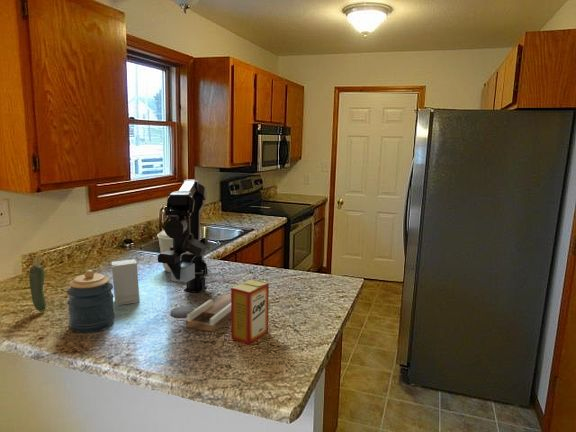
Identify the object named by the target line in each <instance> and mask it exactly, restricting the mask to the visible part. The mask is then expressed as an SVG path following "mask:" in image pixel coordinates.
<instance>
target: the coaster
mask: <svg viewBox="0 0 576 432" xmlns="http://www.w3.org/2000/svg"><path fill="white" fill-rule="evenodd" d="M195 309H196V308H194V307H192V306H178V307H174V308H173V309H171V310H170V316H172V317H173V318H178V319H179V318H187V315H188V314H189V313H191V312H192V311H193V310H195Z"/></svg>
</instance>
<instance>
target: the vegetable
mask: <svg viewBox="0 0 576 432" xmlns="http://www.w3.org/2000/svg"><path fill="white" fill-rule="evenodd" d="M42 257H43V255H42V254H41V253H38V254H36V256H35V257H34V258H33V261H32V262H33V263H32V267H30V269H29V272H28V279H29V281H28V282H29V289H30V294H31V300H32V303H33V306H34V308H35V310H37V311H38V312H40V313H45V312H46V309H47V308H46V307H47V303H46V298H45V293H44V282H45V269H44V267H43V266H42V265H41V258H42Z"/></svg>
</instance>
